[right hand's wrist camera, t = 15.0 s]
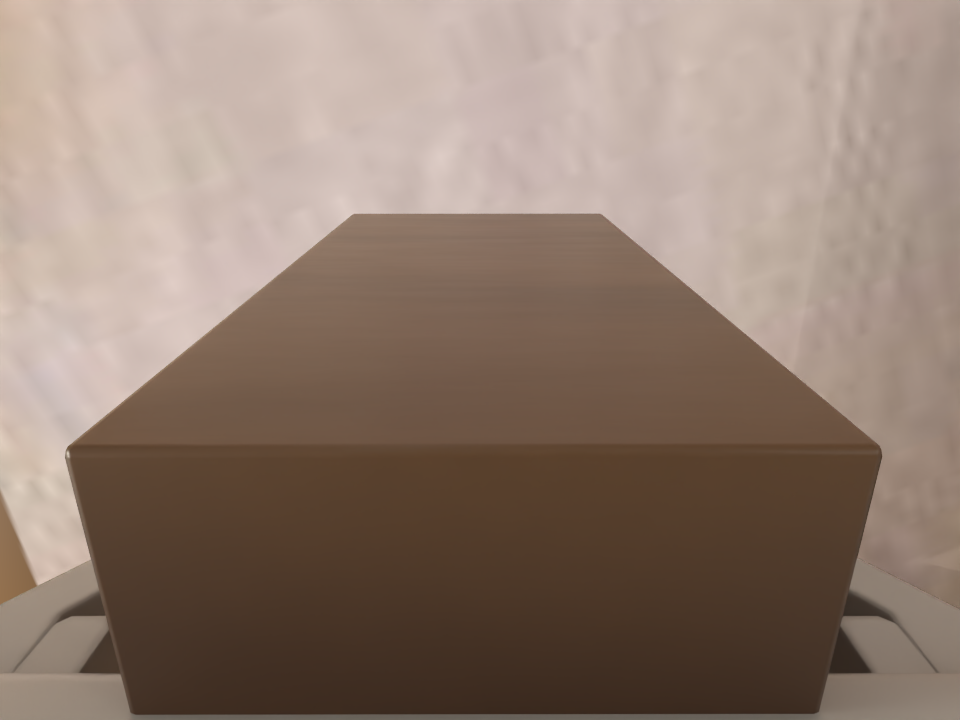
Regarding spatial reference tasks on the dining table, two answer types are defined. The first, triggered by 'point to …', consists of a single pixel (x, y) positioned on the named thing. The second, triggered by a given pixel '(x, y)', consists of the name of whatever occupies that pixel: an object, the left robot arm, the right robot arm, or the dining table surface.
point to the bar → (474, 491)
